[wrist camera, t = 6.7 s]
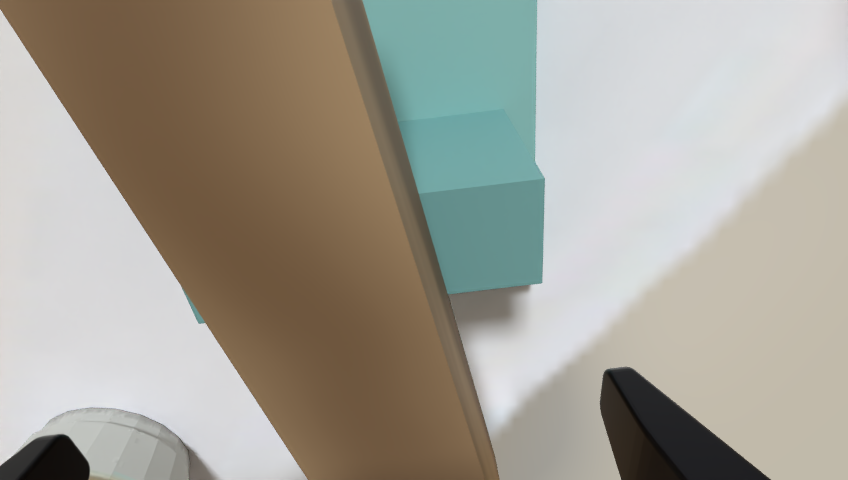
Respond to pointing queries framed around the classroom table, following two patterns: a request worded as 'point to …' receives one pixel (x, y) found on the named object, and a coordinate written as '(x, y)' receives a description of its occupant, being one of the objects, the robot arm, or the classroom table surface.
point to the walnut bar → (279, 215)
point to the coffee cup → (121, 444)
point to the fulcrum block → (468, 131)
